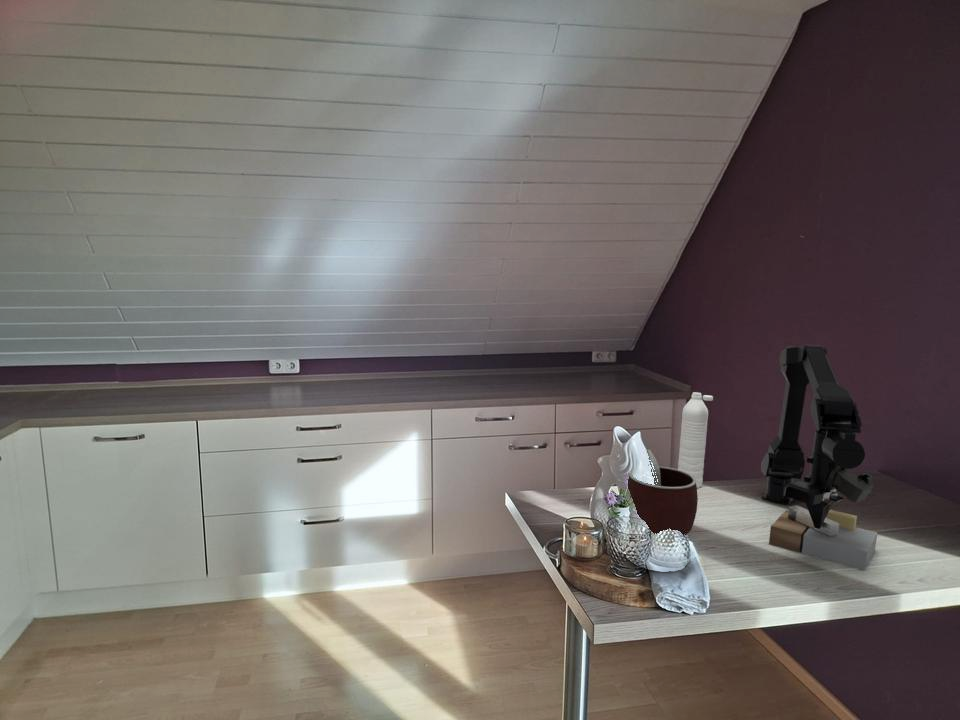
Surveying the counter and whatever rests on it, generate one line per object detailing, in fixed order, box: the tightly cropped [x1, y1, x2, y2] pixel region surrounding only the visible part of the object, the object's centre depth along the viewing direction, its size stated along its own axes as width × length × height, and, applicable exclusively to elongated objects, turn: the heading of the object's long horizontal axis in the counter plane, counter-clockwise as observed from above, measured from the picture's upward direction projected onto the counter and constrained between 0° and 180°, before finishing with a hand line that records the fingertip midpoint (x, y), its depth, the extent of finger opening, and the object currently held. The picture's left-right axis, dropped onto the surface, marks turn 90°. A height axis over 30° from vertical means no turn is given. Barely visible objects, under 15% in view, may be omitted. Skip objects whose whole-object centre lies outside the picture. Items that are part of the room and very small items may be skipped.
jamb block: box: [768, 509, 810, 553], centre depth 144 cm, size 12×6×4 cm, turn 141°
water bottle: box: [677, 391, 714, 489], centre depth 173 cm, size 9×6×25 cm
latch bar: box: [787, 504, 839, 536], centre depth 141 cm, size 11×3×2 cm, turn 23°
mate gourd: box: [627, 449, 699, 536], centre depth 132 cm, size 16×14×20 cm
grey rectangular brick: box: [801, 509, 878, 572], centre depth 138 cm, size 12×12×7 cm
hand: (817, 528), depth 137 cm, fingers closed
